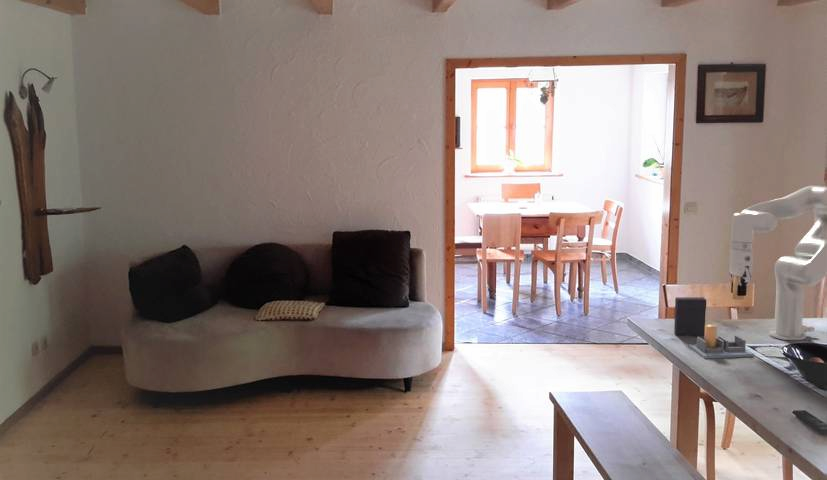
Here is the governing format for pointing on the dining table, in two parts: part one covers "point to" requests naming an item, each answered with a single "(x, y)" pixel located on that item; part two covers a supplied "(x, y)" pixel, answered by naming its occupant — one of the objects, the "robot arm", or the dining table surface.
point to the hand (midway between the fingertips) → (738, 293)
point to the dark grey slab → (690, 316)
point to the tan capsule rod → (735, 285)
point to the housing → (719, 345)
